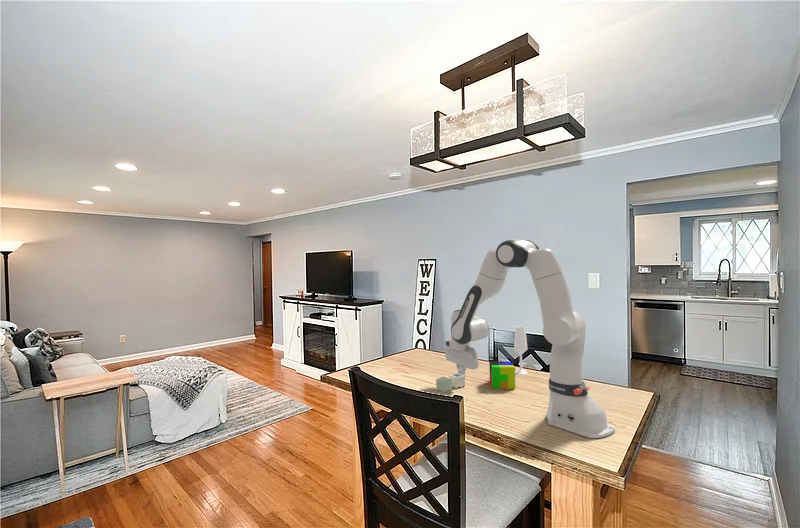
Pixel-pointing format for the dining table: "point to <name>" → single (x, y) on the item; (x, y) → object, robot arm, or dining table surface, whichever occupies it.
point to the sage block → (443, 384)
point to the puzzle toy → (502, 374)
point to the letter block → (457, 380)
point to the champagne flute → (520, 345)
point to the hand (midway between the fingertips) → (461, 374)
